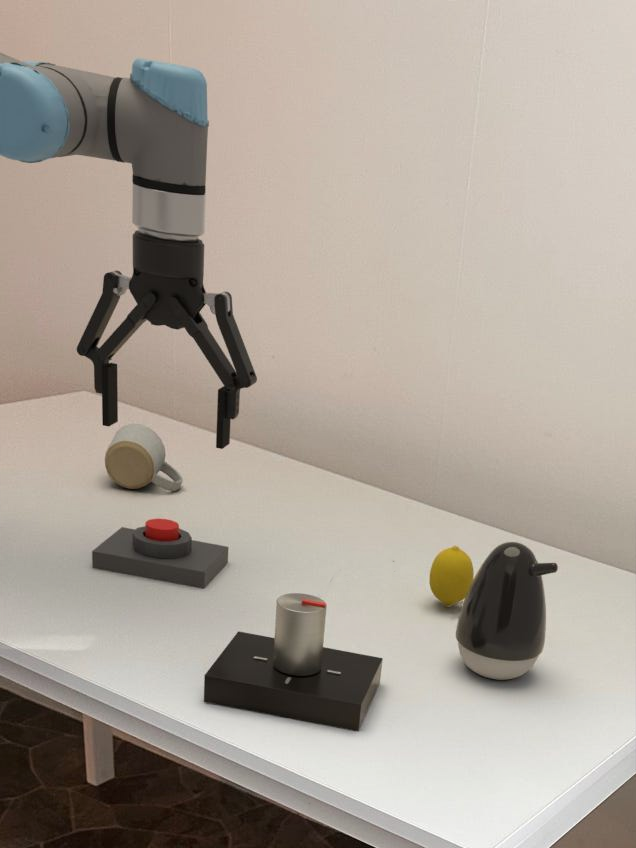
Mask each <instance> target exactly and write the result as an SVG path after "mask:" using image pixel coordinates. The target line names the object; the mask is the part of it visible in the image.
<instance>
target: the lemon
mask: <svg viewBox="0 0 636 848" xmlns="http://www.w3.org/2000/svg"><path fill="white" fill-rule="evenodd" d="M474 573H475V572H474V566H473V561H472V559H471V558H470V556H469V555H468V554H467V553H466V551H464V550H463V549H461V548H460V547H459V546H457V545H453V546H451V547H448V548H445V549H443V550H442V551H440V552H439V553H438V554H436V556H435V558H434V559H433V561H432V564H431V566H430V571H429V587H430V591H431V593H432V594H433V597H435V598H436V599H437V600H438V601H439V602H441V603H442V605H444V607H447V608H450V607H451V606H453V605H454V604H458V603H460V602H462V601H464V600H465V597H466V595H467V592H468V590H469V588H470V585H471V583H472V581H473V579H474V577H475V575H474Z"/></svg>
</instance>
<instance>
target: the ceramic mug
mask: <svg viewBox="0 0 636 848" xmlns="http://www.w3.org/2000/svg"><path fill="white" fill-rule="evenodd" d="M104 466H105V470H106V472H107V474H108V476H109V477H110V479H111V480H112V481H113V482H114V483H115V484H117V485H118V486H120V487H122V488H124V489H129V490H139V489H142V488H144V487H145V486H147V485H149V484H150V483H152V484H153V485H155V486H158V487H159V488H162V489H163V490H166V491H170V492H176V491H178V490H179V489H180V487H181V485H182V483H183V481H184V478H183V476H182V474H181V473H180V472H179V471H178V470H177V469H176V468H175V467H173V466H172V465H171V464H170V463H168V462H167V461H166V448H165V445H164V442H163V440H162V438H161V437H160V436H159V435H158V433H156V431H155V430H154V429H152V428H150V427H149V426H147V425H144V424H140V423H128V424H125V425H123V426H121V427H119V428H118V430H117V431H116V433H115V434H114V435H113V438H112V439H111V441H110V443H109V445H108V446H107V449H106V452H105V456H104ZM159 472H162V473H163V474H165V475H166V476H167V477H169V478H170V479H167V478H165V477H164V476H162V475H160V474H159Z"/></svg>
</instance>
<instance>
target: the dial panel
mask: <svg viewBox="0 0 636 848" xmlns="http://www.w3.org/2000/svg"><path fill="white" fill-rule="evenodd" d="M274 638H275V637H271V636H265V635H260V634H256V633H250V632H244V631H239V630H238V631H237V632H236V634H235V635H234V636H233V637H232V638H231V640H230V641H229V643H228V644H227V645H226V647H225V648H224V649H223V651H222V652H221V653H220V655H219V656H218V657H217V659H216V660H215V661H214V662H213V663H212V665H211V666H210V667H209V669H208V670H207V672H206V673H205V674H204V675H203V676H204V679H203V680H204V681H203V682H204V683H203V703H207V704H212V705H218V706H223V707H229V708H234V709H238V710H239V709H240V710H244V711H249V712H256V713H260V714H266V715H271V716H276V717H280V718H281V717H282V718H288V719H291V720H292V719H293V720H297V721H298V720H299V721H303V722H307V723H308V722H309V723H312V724H313V723H315V724H318V725H325V726H329V725H330V726H329V727H335V726H336V728H340V727H342V728H341V729H345V728H347V729H346V730H351V729H352V730H351V731H356V730H357V731H356V732H359V730H360V728H361V726H362V724H363V722H364V720H365V718H366V715H367V713H368V711H369V709H370V706H371V704H372V702H373V700H374V697H375V695H376V693H377V691H378V689H379V686H380V684H381V676H382V669H383V659H384V658H383V657H379V656H374V655H373V656H372V655H366V654H362V653H358V652H357V653H356V652H353V651H352V652H351V651H347V650H341V649H335V648H331V647H325V646H323V654H322V666H321V670H320V671H319V672H318V673H316V674H313V675H309V676H294V675H289V674H285V673H282V672H280V671H278V670H277V669H276V668H275V667H274V665H273V654H274Z"/></svg>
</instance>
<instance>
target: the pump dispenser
mask: <svg viewBox="0 0 636 848" xmlns="http://www.w3.org/2000/svg"><path fill="white" fill-rule="evenodd" d="M558 568H559V566H558V564H557V562H538V559H537V557H536V555H535V554H534V552H533V550H531V548H529V547H528V546H527V545H525V544H524V543H520V542H518V541H507V542H502V543H501V544H499V545H497V546H496V547H494V549H492V550H491V552H490V553H489V554H488V555H487V557H485V559H484V561H483V562H482V564H481V565H480V567H479V568H478V570H477V572H476V574H475V575H474V577H473V581H472V583H471V585H470V588H469V590H468V592H467V595H466V597H465V599H463V603H462V607H461V609H460V612H459V616H458V620H457V623H456V630H455V639H456V641H457V645H458V651H459V655H460V657H461V659H462V661H463V663H464V664H465V665H466V666H467V667H468V668H469V669H470V670H471V671H472V672H474V673H476V674H477V675H479V676H481V677H484V678H487V679H491V680H497V681H498V680H499V681H505V680H511V679H512V680H513V679H516V678H519V677H522V676H524V674H526V673H527V672H529V671H530V670H531V669H532V668H533V667H534V665H535V663H536V661H537V660H538V658H539V656H540V655H541V654H542V653H543V652H544V647H545V642H546V634H547V633H546V630H547V602H546V594H545V587H544V582H543V581H544V580H543V576H545V575H549V574H555V573H557V571H558V570H559V569H558Z"/></svg>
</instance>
